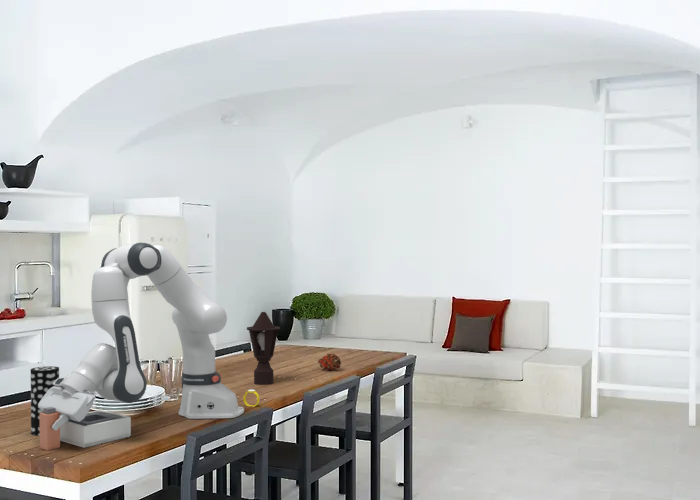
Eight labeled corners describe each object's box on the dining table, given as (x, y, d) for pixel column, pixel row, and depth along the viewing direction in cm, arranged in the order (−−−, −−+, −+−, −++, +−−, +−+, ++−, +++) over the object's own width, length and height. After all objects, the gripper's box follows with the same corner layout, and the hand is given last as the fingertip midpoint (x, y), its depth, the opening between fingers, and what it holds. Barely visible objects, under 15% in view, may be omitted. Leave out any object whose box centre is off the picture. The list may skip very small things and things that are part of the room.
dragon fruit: (341, 375, 346) (319, 376, 352) (347, 362, 353) (326, 363, 359) (333, 361, 342) (311, 363, 349) (340, 348, 349) (318, 350, 355)
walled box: (100, 428, 242) (100, 409, 242) (130, 436, 232) (130, 416, 232) (54, 438, 229) (53, 419, 229) (84, 447, 219) (83, 427, 219)
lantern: (284, 380, 326) (284, 310, 325) (277, 386, 311) (277, 313, 310) (250, 379, 327) (250, 310, 327) (242, 386, 312) (242, 313, 312)
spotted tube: (63, 428, 242) (62, 366, 242) (54, 435, 234) (53, 370, 233) (37, 429, 242) (36, 366, 241) (26, 435, 233) (26, 370, 233)
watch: (260, 406, 275) (261, 390, 275) (256, 408, 272) (257, 392, 272) (245, 404, 277) (246, 388, 277) (241, 406, 274) (242, 389, 274)
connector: (52, 445, 222) (52, 405, 222) (60, 447, 220) (59, 407, 220) (39, 447, 219) (39, 408, 219) (47, 450, 217) (46, 410, 217)
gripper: (104, 399, 222) (74, 439, 214) (66, 391, 235) (36, 428, 227) (91, 386, 218) (60, 426, 211) (52, 378, 231) (22, 416, 224)
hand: (47, 427), depth 219 cm, fingers closed on connector, 4 cm apart
